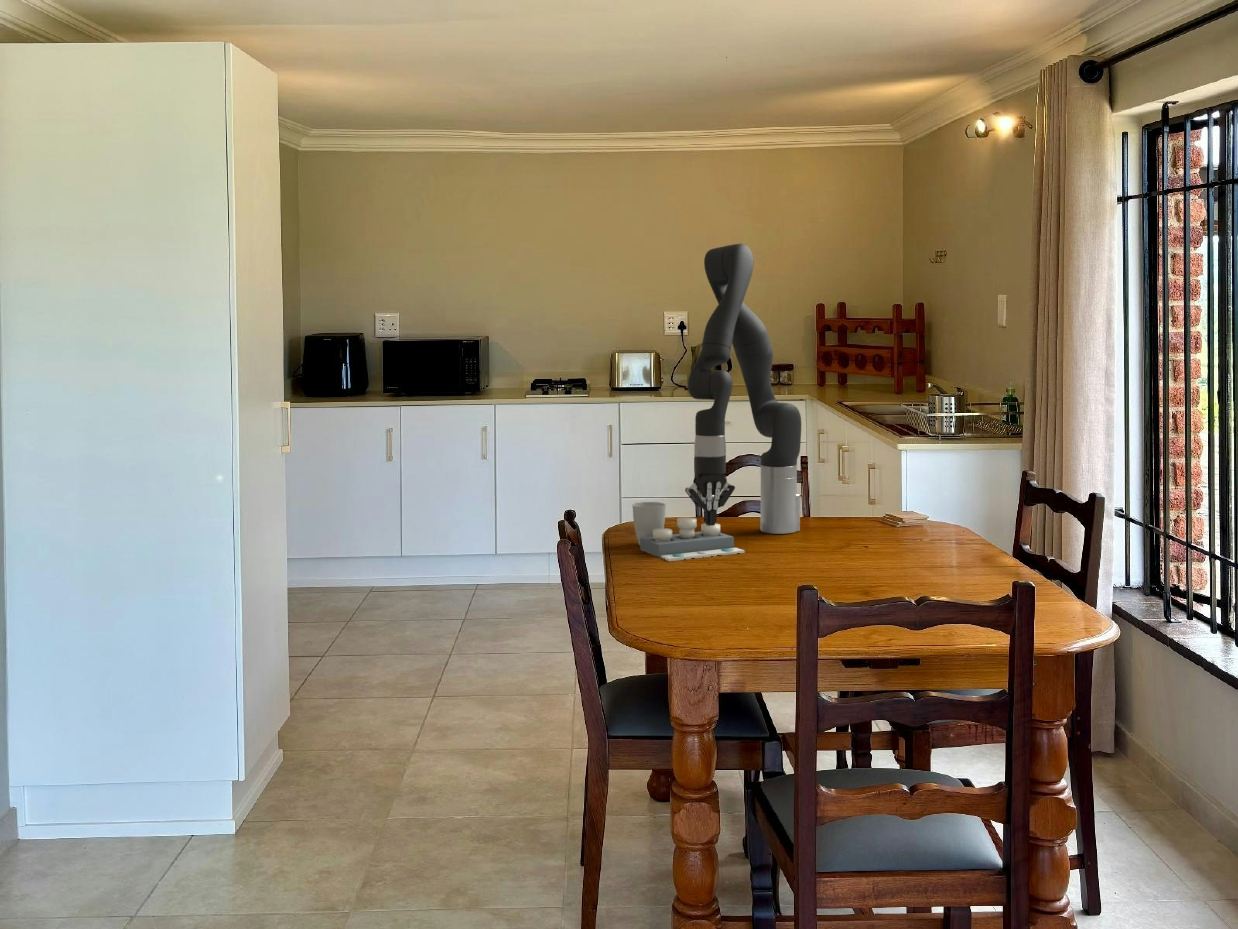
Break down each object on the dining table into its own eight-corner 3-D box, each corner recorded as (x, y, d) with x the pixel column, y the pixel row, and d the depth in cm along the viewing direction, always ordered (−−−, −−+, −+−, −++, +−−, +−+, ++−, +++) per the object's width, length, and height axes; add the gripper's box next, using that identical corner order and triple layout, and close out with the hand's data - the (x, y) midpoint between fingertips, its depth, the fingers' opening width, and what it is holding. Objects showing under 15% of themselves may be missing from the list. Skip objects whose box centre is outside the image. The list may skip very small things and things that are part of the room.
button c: (667, 546, 282) (666, 527, 281) (675, 549, 278) (675, 530, 277) (649, 548, 280) (649, 529, 279) (658, 551, 276) (658, 532, 275)
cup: (666, 541, 292) (666, 501, 291) (664, 548, 284) (664, 507, 283) (634, 541, 293) (633, 501, 291) (631, 547, 285) (630, 507, 283)
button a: (714, 541, 287) (714, 522, 287) (723, 544, 283) (723, 525, 282) (697, 543, 285) (697, 524, 285) (707, 546, 281) (707, 527, 281)
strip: (735, 550, 280) (735, 546, 280) (744, 553, 277) (744, 549, 277) (661, 558, 272) (660, 554, 272) (668, 561, 268) (668, 557, 268)
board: (713, 542, 290) (713, 530, 290) (733, 549, 281) (733, 537, 281) (640, 549, 282) (640, 537, 282) (659, 557, 273) (658, 544, 273)
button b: (690, 535, 284) (690, 516, 284) (700, 538, 280) (699, 519, 280) (674, 536, 282) (673, 518, 282) (682, 540, 278) (682, 521, 278)
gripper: (726, 450, 288) (726, 520, 290) (678, 453, 282) (678, 524, 284) (742, 453, 281) (741, 525, 283) (693, 456, 275) (693, 529, 278)
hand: (710, 524), depth 284 cm, fingers closed
